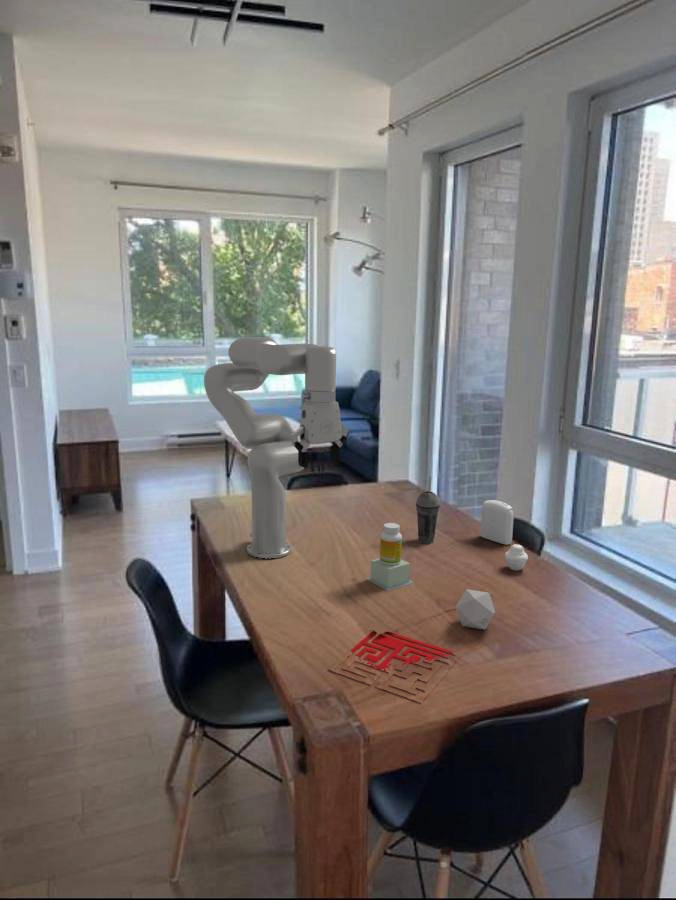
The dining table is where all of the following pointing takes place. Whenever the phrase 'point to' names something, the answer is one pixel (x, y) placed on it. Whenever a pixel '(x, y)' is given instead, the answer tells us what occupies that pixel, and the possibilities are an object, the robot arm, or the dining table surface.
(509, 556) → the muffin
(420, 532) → the beverage cup
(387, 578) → the base block
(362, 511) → the dining table surface
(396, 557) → the supplement bottle
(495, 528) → the photo printer
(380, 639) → the maze puzzle
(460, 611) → the die
